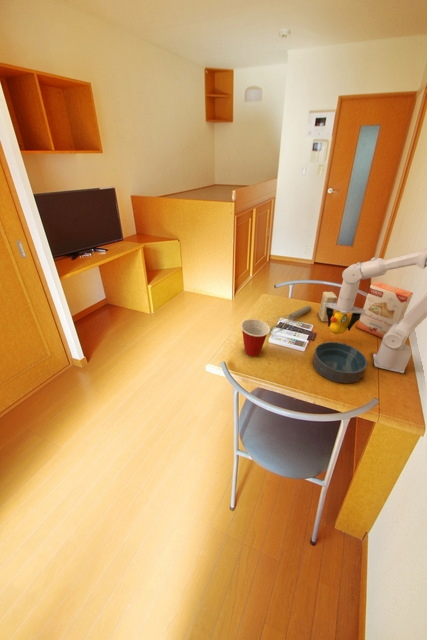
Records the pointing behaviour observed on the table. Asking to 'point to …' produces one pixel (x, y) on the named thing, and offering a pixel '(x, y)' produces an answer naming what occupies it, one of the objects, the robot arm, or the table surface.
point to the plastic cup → (254, 335)
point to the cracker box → (383, 308)
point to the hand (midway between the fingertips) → (338, 327)
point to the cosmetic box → (327, 298)
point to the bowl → (339, 362)
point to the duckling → (339, 322)
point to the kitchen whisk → (293, 315)
